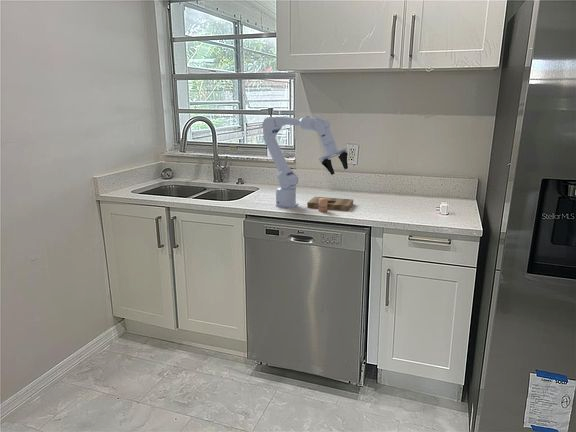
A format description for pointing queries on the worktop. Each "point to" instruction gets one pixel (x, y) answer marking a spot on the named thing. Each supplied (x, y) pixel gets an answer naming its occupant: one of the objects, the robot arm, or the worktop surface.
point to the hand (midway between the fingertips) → (339, 171)
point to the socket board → (332, 203)
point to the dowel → (323, 204)
